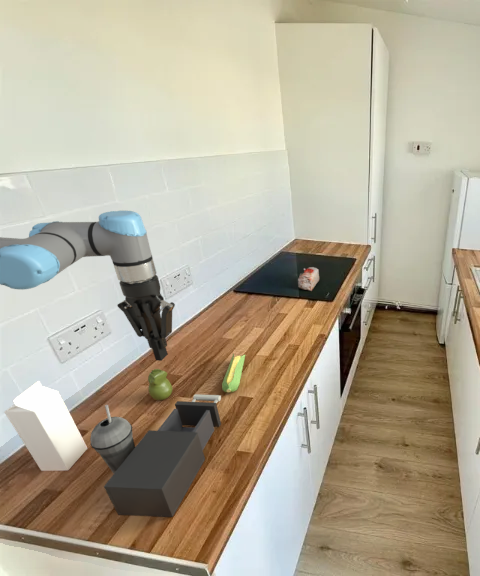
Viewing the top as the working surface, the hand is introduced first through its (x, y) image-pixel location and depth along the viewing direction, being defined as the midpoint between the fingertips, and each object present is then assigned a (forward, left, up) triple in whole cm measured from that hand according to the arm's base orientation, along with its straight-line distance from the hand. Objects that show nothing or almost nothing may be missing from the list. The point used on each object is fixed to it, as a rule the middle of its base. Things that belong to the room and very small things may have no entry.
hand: (161, 357), depth 87 cm
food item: (+21, +84, -17) cm, 88 cm away
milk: (-16, -18, -17) cm, 30 cm away
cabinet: (+11, -23, -17) cm, 31 cm away
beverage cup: (0, -20, -17) cm, 27 cm away
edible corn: (+12, +14, -17) cm, 25 cm away
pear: (-5, +3, -17) cm, 18 cm away
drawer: (+11, -10, -16) cm, 22 cm away
